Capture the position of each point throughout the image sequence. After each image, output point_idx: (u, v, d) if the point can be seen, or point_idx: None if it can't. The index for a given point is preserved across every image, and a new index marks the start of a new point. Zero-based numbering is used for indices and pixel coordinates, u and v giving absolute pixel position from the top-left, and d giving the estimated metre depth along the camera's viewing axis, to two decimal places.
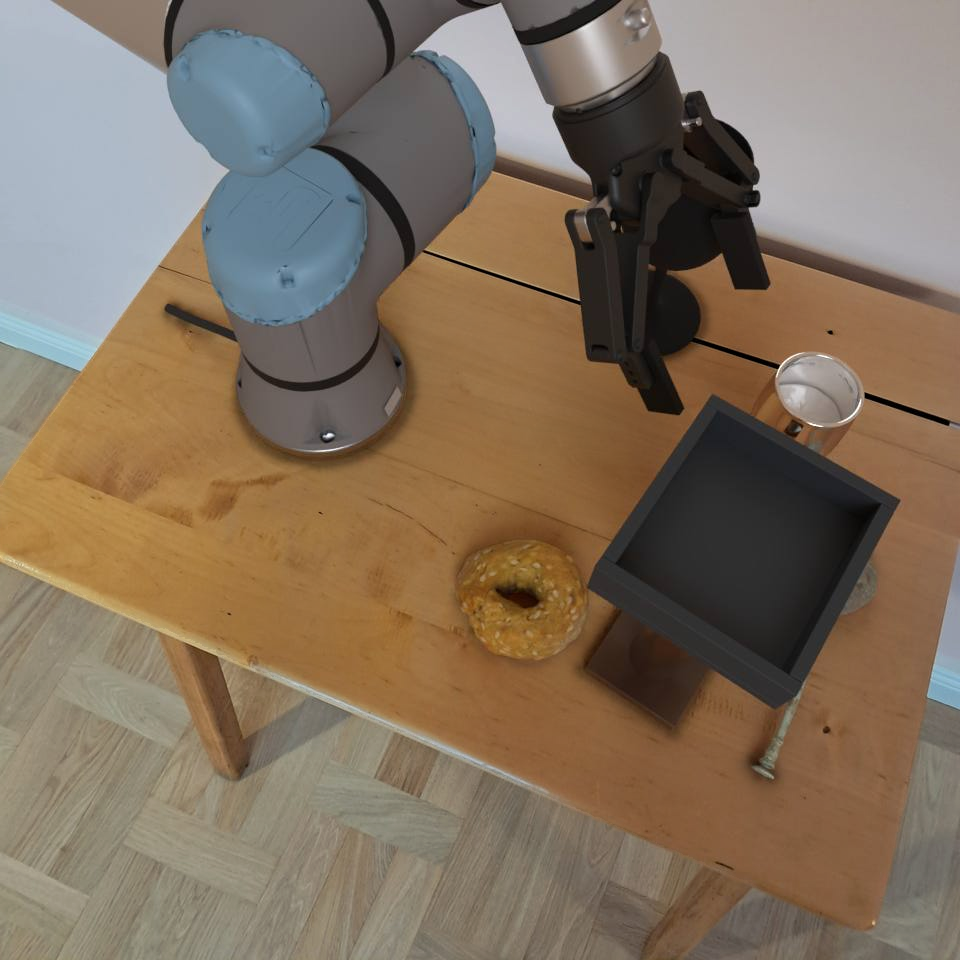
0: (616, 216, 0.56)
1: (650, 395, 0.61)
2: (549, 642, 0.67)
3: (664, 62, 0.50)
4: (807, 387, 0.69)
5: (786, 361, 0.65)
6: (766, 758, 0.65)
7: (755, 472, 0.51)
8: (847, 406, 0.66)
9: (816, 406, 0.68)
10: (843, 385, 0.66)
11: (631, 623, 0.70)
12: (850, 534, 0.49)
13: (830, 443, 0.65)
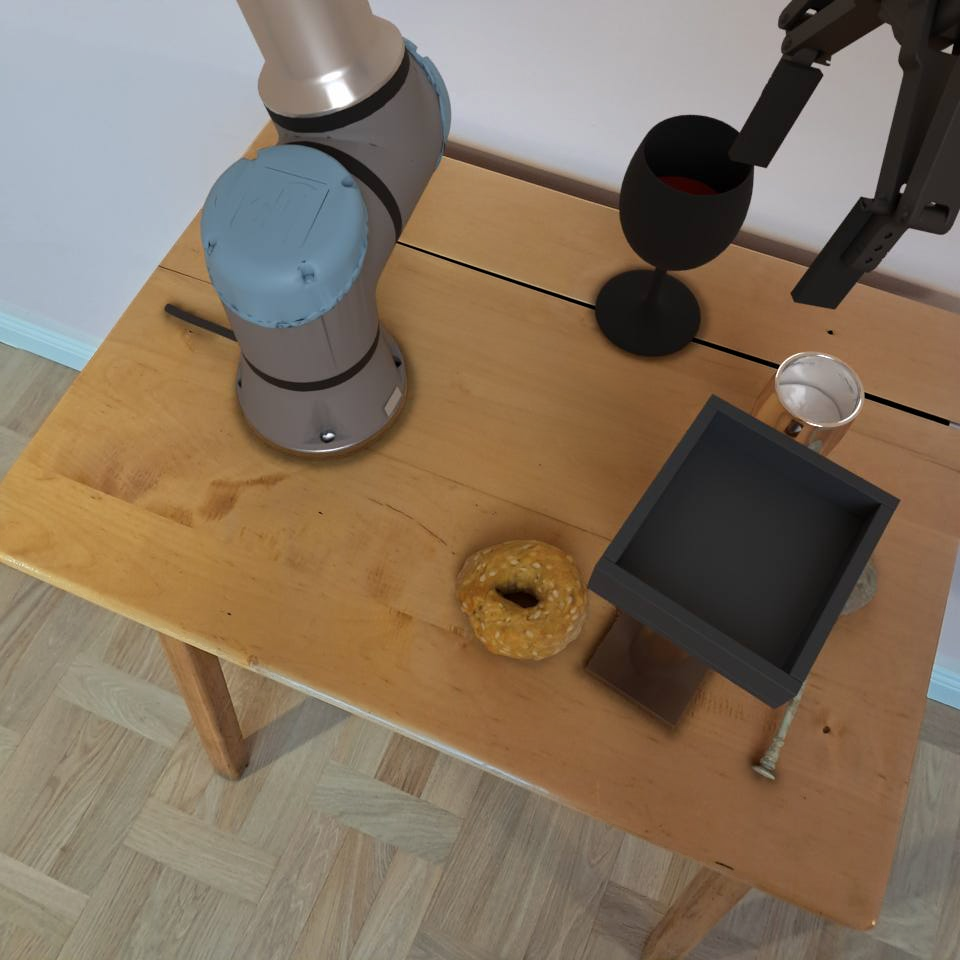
0: (948, 26, 0.41)
1: (826, 281, 0.47)
2: (549, 642, 0.67)
3: None
4: (807, 387, 0.69)
5: (786, 361, 0.65)
6: (766, 759, 0.65)
7: (755, 472, 0.51)
8: (847, 406, 0.66)
9: (816, 406, 0.68)
10: (843, 385, 0.66)
11: (631, 623, 0.70)
12: (850, 534, 0.49)
13: (830, 443, 0.65)
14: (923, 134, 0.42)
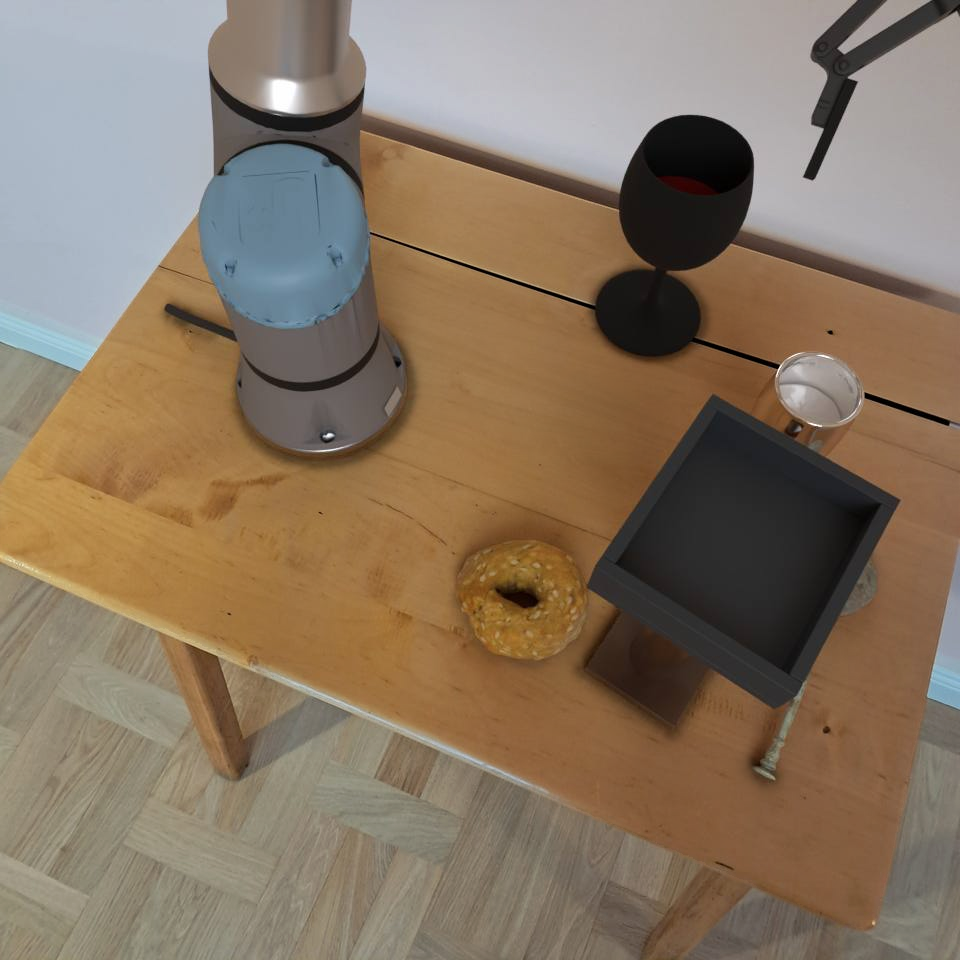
0: None
1: None
2: (549, 642, 0.67)
3: None
4: (807, 387, 0.69)
5: (786, 361, 0.65)
6: (767, 759, 0.65)
7: (755, 472, 0.51)
8: (847, 406, 0.66)
9: (816, 406, 0.68)
10: (843, 385, 0.66)
11: (631, 623, 0.70)
12: (850, 534, 0.49)
13: (830, 443, 0.65)
14: None
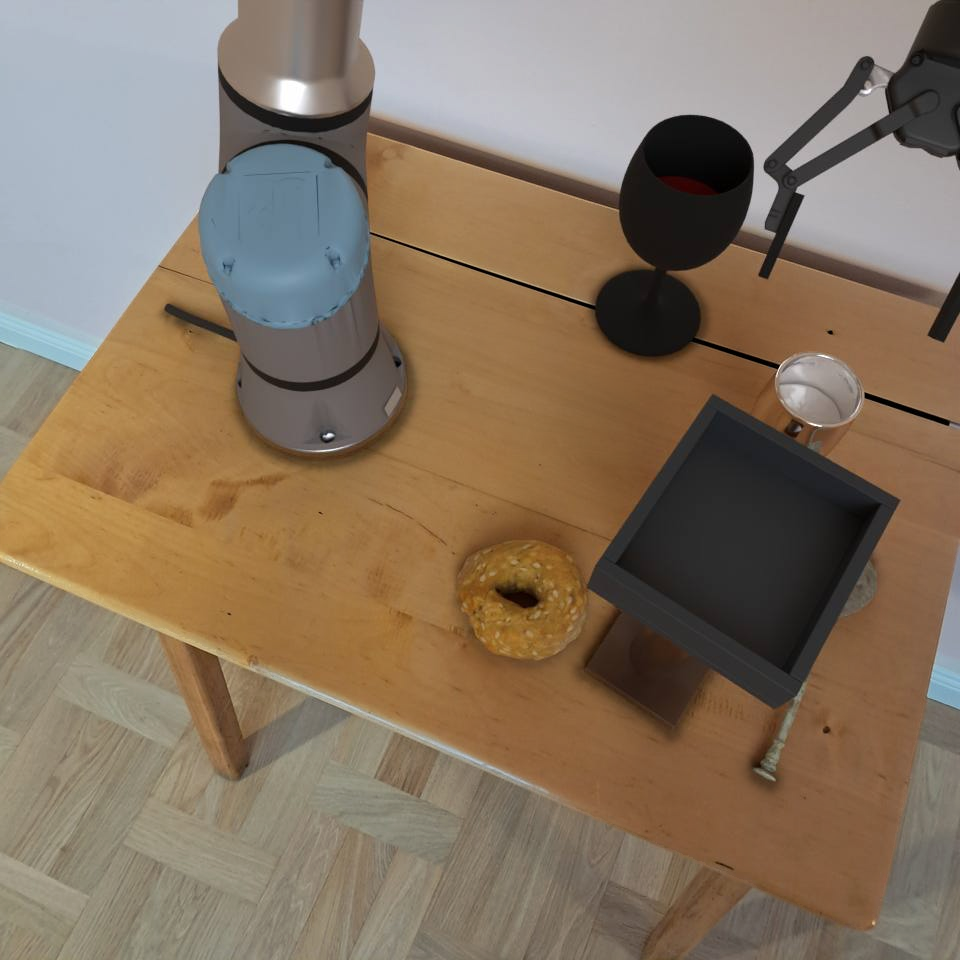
0: None
1: None
2: (549, 642, 0.67)
3: None
4: (807, 387, 0.69)
5: (786, 361, 0.65)
6: (767, 761, 0.65)
7: (755, 472, 0.51)
8: (847, 406, 0.66)
9: (816, 406, 0.68)
10: (843, 385, 0.66)
11: (631, 623, 0.70)
12: (850, 534, 0.49)
13: (830, 443, 0.65)
14: None
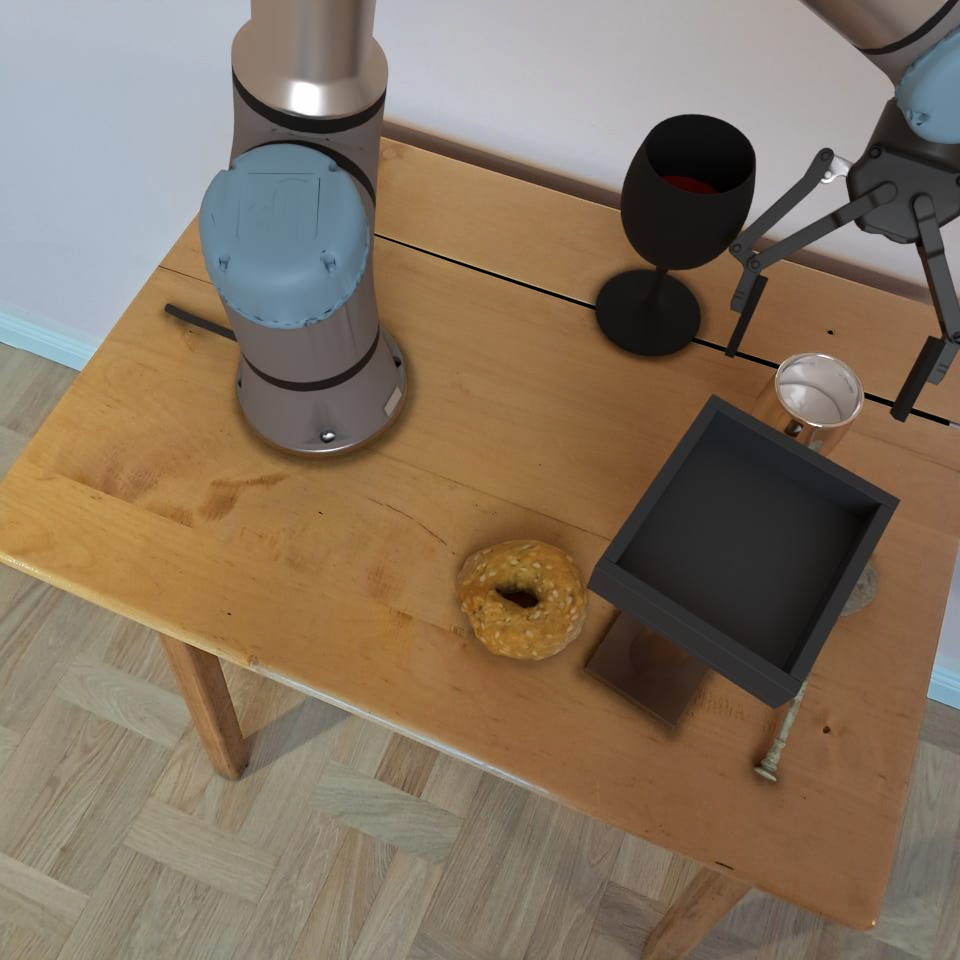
0: None
1: None
2: (549, 642, 0.67)
3: None
4: (807, 387, 0.69)
5: (786, 361, 0.65)
6: (767, 760, 0.65)
7: (755, 472, 0.51)
8: (847, 406, 0.66)
9: (816, 406, 0.68)
10: (843, 385, 0.66)
11: (631, 623, 0.70)
12: (850, 534, 0.49)
13: (830, 443, 0.65)
14: None
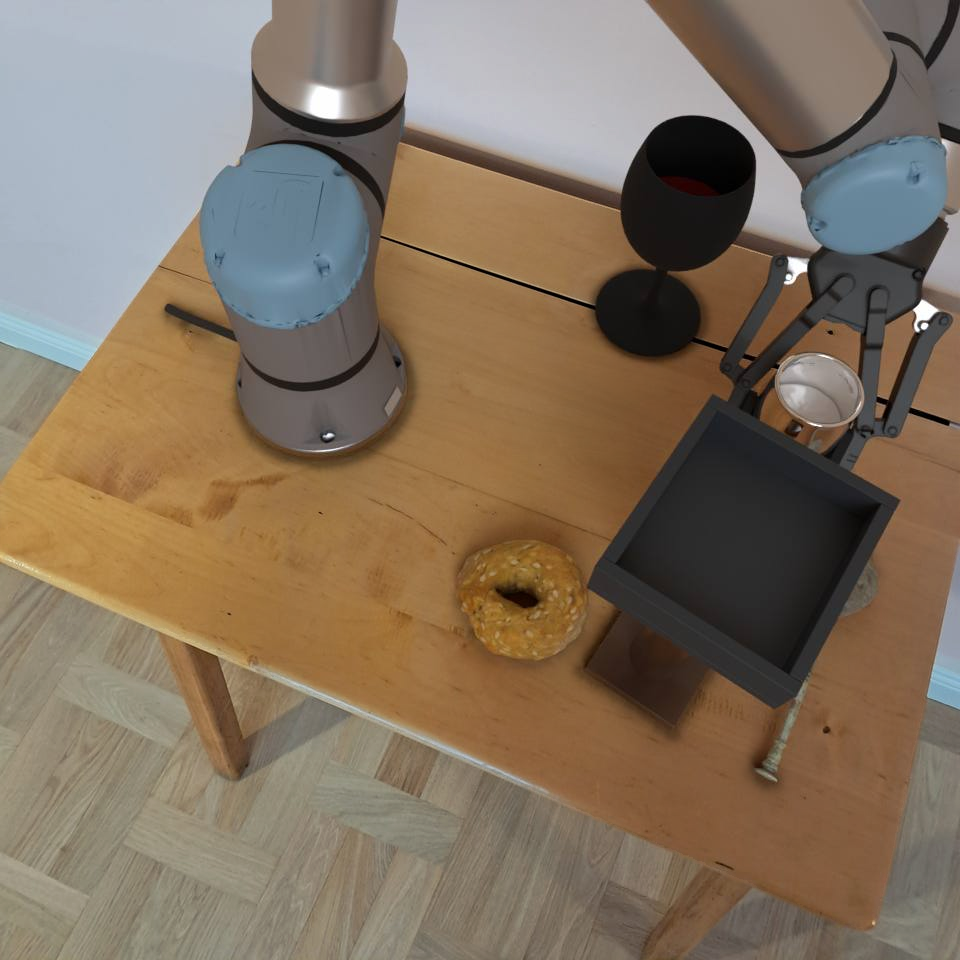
0: None
1: None
2: (549, 642, 0.67)
3: None
4: (807, 387, 0.69)
5: (786, 361, 0.65)
6: (768, 761, 0.65)
7: (755, 472, 0.51)
8: (847, 406, 0.66)
9: (816, 406, 0.68)
10: (843, 385, 0.66)
11: (631, 623, 0.70)
12: (850, 534, 0.49)
13: (830, 443, 0.65)
14: None
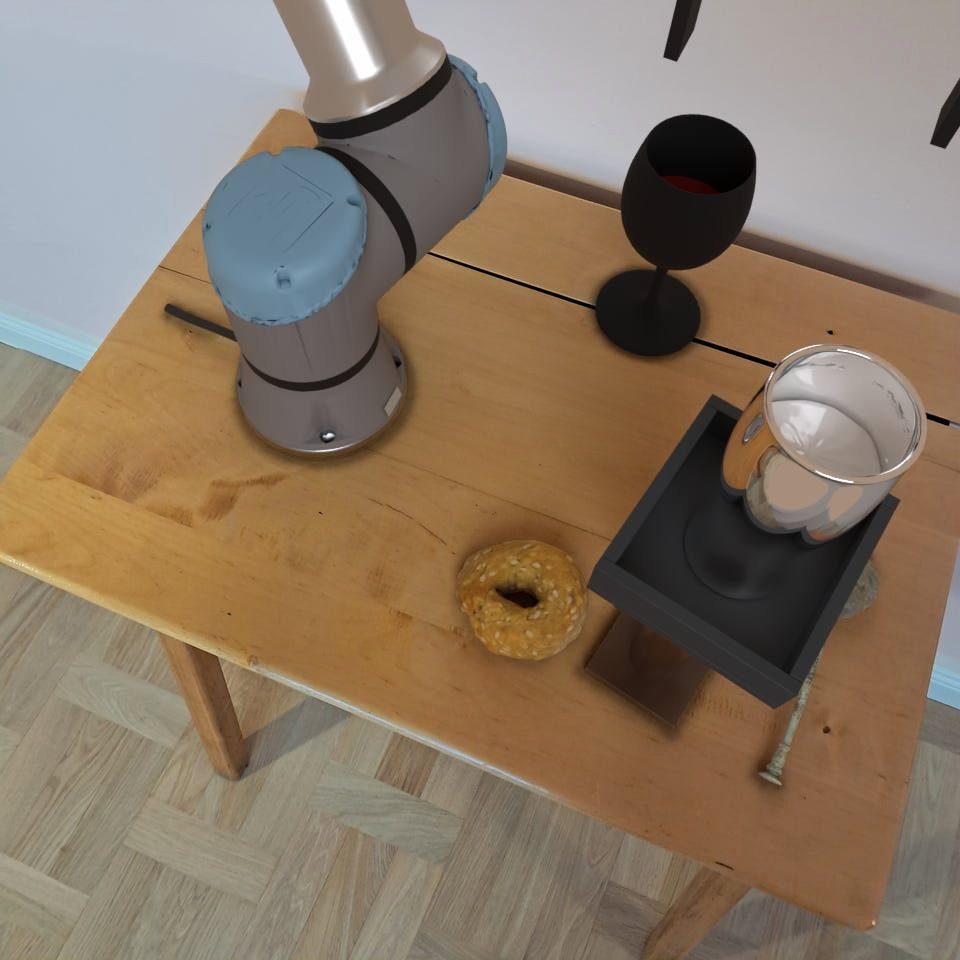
0: None
1: None
2: (549, 642, 0.67)
3: None
4: (821, 406, 0.40)
5: (784, 361, 0.36)
6: (773, 765, 0.65)
7: None
8: (893, 441, 0.38)
9: (837, 439, 0.39)
10: (885, 404, 0.37)
11: (631, 623, 0.70)
12: (850, 534, 0.49)
13: (864, 509, 0.36)
14: None
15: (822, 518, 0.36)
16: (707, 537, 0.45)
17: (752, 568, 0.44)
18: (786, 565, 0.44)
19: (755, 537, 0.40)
